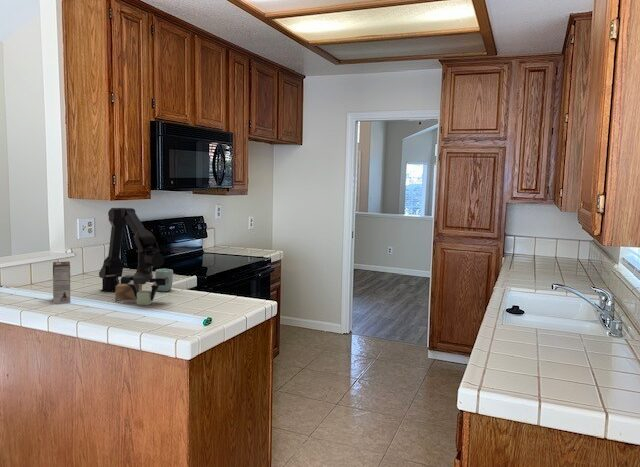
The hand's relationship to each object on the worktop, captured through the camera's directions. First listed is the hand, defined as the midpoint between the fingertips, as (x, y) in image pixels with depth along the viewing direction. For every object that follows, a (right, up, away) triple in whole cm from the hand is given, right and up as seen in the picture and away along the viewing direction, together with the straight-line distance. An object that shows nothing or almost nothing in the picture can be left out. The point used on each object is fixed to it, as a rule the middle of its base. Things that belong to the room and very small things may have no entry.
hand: (144, 300), depth 207 cm
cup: (0, +1, +24) cm, 24 cm away
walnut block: (-10, 0, +9) cm, 14 cm away
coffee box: (-34, 0, -3) cm, 34 cm away
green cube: (0, -1, 0) cm, 1 cm away
